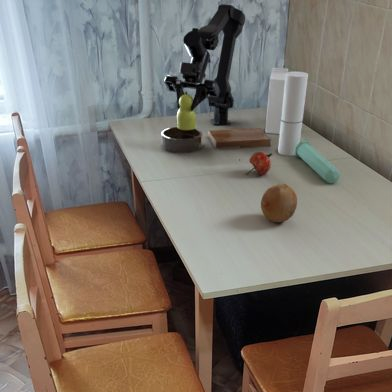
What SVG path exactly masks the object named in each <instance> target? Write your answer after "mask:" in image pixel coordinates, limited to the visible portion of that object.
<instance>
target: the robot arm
mask: <svg viewBox="0 0 392 392" xmlns="http://www.w3.org/2000/svg"><path fill="white" fill-rule="evenodd" d="M245 23H246V15H245V13H244V12H243V10H241V9H239V8H236V7H235V6H234V5H232V4H227V3H225V4H224V3H221V4H218V7H217V10H216V11H215V13H214V14H213V16H212V18H211V19H210V21H209V22H208V23H207V24H206V25H204V26H201V27H199V28H198V27H192V29H191V30H189V31H188V32H187V33H186V34H185V35H184V36H183V40H182V41H183V44H184V46H185V49H186V51H187V53H188V55H189V56H190V58H191V59H190V62H183V61H182V62H180V64H179V65H180V66H179V72H178V73H179V74H181V75H182V79H183V80H181V79H179V78H178V76H177V75H171V74H167V75H166V76H164V80H163V83H164V85H165V87H166V88H167V90H168V91H169V92H172V93H173V92H174V93H176V108H177V110H179V109H180V108H181V107H180V105H179V99H180V97H181V96H182V95H184V94H185V91H184V89H189V90H195V94H194V97H193V102H192V105H191V111H193V110H194V111H195V109H196V108H197V107H198V106H199V105H200V104H201V103H202V102H203V101H204V100H206V99H207V100H208V107H213V116H212V117H213V118H211V119H210V121H211V123H212V124H213V125H214V126H221V125H222V126H223V125H231V121H229V109H233V107H234V102H235V99H234V97H233V94H232V86H231V84H230V81H229V80H230V73H231V68H232V64H233V59H234V53H235V46H236V41H237V39H238V38H239V36H240V35H241V34H242V32H243V27H244V26H245ZM221 32H222V34H223V38H222V44H221V49H220V55H219V60H218V66H217V72H216V77H215V78H214V79H205V78H206V76H207V74H206V71H207V67H208V64H209V63H210V64H211V61H212V60H211V55H210V51H215V50H216V49H217V47H218V45H219V42H220V39H219V36H220V34H221ZM203 79H205V80H204V81H203Z"/></svg>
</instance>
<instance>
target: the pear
mask: <svg viewBox="0 0 392 392" xmlns="http://www.w3.org/2000/svg"><path fill="white" fill-rule="evenodd" d="M184 93H185V94H184V95H182V96H181V97H180V99H179V105H180V108H179V109H177V113H176V127H177V128H178V129H181V130H192V129H197V128H196V127H197V126H196V125H197V124H196V122H197V121H196V120H197V114H196V110H195V109H194V110H193V111H191V105H192V102H193V99H194V97H193V96H192V95H190V94H189V93H188V91H184Z"/></svg>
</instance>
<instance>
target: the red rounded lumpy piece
mask: <svg viewBox="0 0 392 392" xmlns="http://www.w3.org/2000/svg"><path fill="white" fill-rule="evenodd" d="M272 156H273V153H271V152H270V153H269V154H266V152H262V151H257V152H254V153H252V155H251V156H250V158H249V163H250V164H251V165H252V169H250V170H249V171H248V172H246V173H245V175H248V174H250V173H251V172H252V171H254V170H255V172H257V174H258V175H260V176H264V175H267V173H268V172H269V171H270V169H271V166H272V161H271V159H270V157H272Z"/></svg>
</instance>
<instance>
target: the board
mask: <svg viewBox="0 0 392 392" xmlns="http://www.w3.org/2000/svg"><path fill="white" fill-rule="evenodd" d="M207 135H208V138H209V140H210V141H211V143H212V144H213V146H214V148H215V149H223V148H225V149H226V148H241V149H245V148H260V147H263V148H264V147H271V141H272V140H271V138H270V137H269V135H268V134H267V133H265V131H264V130H263V129H262V128H261V127H253V128H251V127H249V128H234V129H215V130H208V133H207Z"/></svg>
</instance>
